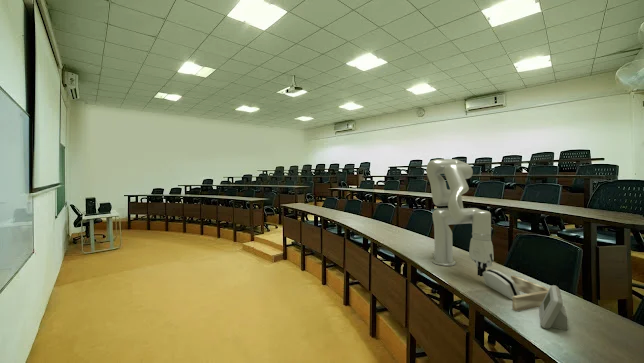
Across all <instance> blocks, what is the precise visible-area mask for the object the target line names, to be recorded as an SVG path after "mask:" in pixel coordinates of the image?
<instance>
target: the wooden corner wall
mask: <svg viewBox="0 0 644 363" xmlns="http://www.w3.org/2000/svg"><path fill="white" fill-rule="evenodd" d="M510 278H511V279H512V280H513V281H514V282H515V284H516V286H517V289H518V291H519V292H522V293H524V294H521V295H517V296H512V299H511V300H512V310H513V311H515V312H518V311H519V312H520V311H524V310H529V309H535V308H540V306H541V304H542V302H543V300H544V298H545V296H546V294H547V292H548V291H549V289H550V288H548V287H545V286H542V285H540V284H537V283H536V282H535V283H534V282H532V281H529V280H526V279H525V278H524V279H523V278H522V277H519V276H516V275H510Z"/></svg>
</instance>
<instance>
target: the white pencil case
mask: <svg viewBox="0 0 644 363" xmlns="http://www.w3.org/2000/svg"><path fill="white" fill-rule="evenodd" d="M482 277H483V280H484V284H485V286H487V287H489V288H491V289H493V290H494V291H496V292H498V293H500V294H501V295H503V296H505V297H507V298H508V299H510V300H512V296H517V295H522V293H521V294H520V290H518V289H517V286H516V284H515V282H514V281H513V280H512V279H511V277H509V276H508V275H506V274H504V273H503V272H501V271H499V270H497V269H494V268H493V269H492V268H489V269H486V271H484V272H483V276H482Z"/></svg>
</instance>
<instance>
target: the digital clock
mask: <svg viewBox="0 0 644 363" xmlns="http://www.w3.org/2000/svg"><path fill="white" fill-rule="evenodd" d="M548 289H549V291H548V292H547V294H546V296H545V298H544V300H543V302H542V304H541V306H540V307H539V321H540V322H539V323H540V325H541V327H542V328H543V329H550V328H556V329H560V330H564V331H568V328H569V327H568V320H569V319H568V315H567V310H566V308H565V306H564V302H563V298H562V293H561V290H560V288H559V287H558V286H557V285H554V284H553V285H551V286H550V287H549V288H548Z"/></svg>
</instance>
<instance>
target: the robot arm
mask: <svg viewBox="0 0 644 363" xmlns="http://www.w3.org/2000/svg"><path fill="white" fill-rule="evenodd" d="M473 173H474V171H473V168H472V166H471V165H470V164H468V163H466V162H464V161H461V160H459V159H455V158H450V159H449V158H448V159H447V158H442V159H441V158H440V159H432V160H430V161H429V162H428V163H427V165H426V176H427V179H428V181H429V184H430V189H431V191H430V192H431V198H432V202H433V204H434V205H435V206H437V207H440V208H436V209H434V210H433V212H432V214H431V215H432V221H433V222H432V223H433V228H434V229H433V231H434V232H433V233H434V236H433V237H434V241H433V242H434V251H433V252H432V253H431V256H433V258H432V259H431V262H432V263H433V264H435V265H438V266H442V267H443V266H444V267H450V266H451V267H452V266H455V265H456V261H455V259H453V254H454V253H453V231H452V229H451V227H450V225H464V224H471V226H472V227H471V228H472V232H471V236H472V237H471V238H470V242H469V249H468V250H469V252H468V256H469V259H471V260H472V261H473V262H474V263H475V266H476V267H477V268H476V269H477V276H479V277H483V272H484V271H487V268H488V267H493V263H494V258H495V257H494V245H493V242H492V213H491V212H490V211H488V210H484V209H480V208H477V207H470V208H469V207H467V208H466V207H465V208H464V204H463V199H462V198H463V197H462V195H464V194H466V193H467V192H468V191H469V189H470V188H469V185H468V182H467V180H468V179H470V178H472V176H473ZM442 174H444V176H445V179H446V180H445V179H444V177H443V176H442ZM447 184H448V186H449V189H448V187H447ZM446 206H447V207H446ZM441 207H442V208H441Z"/></svg>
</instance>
